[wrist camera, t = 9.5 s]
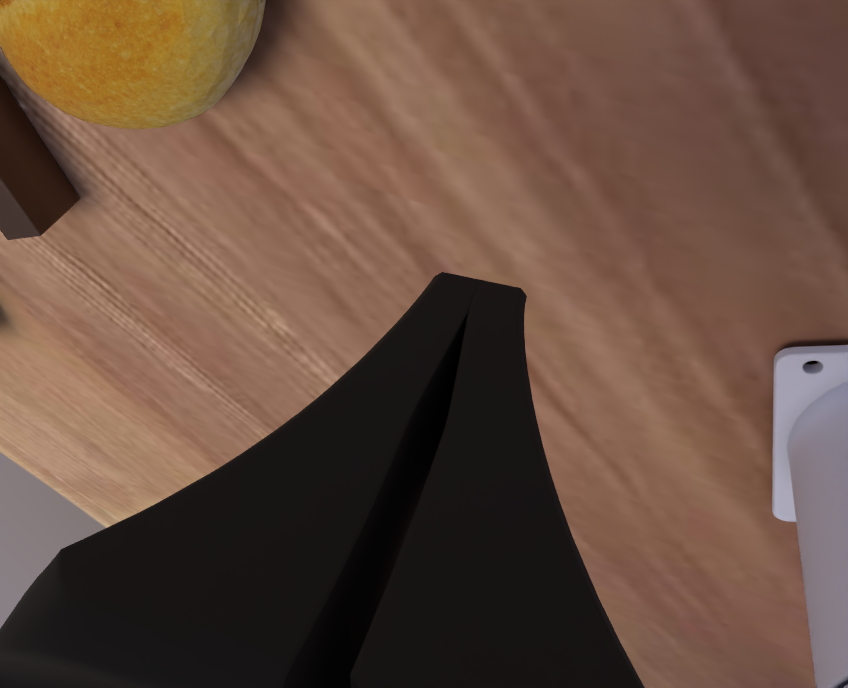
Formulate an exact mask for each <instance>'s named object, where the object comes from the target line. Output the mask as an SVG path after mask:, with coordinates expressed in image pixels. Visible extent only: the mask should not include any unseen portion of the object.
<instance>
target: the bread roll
mask: <svg viewBox="0 0 848 688" xmlns="http://www.w3.org/2000/svg"><path fill="white" fill-rule="evenodd" d="M265 1H266V0H0V46H1V48H2V50H3V52H4V54H5V56H6V58H7V59H8V61H9V62H10V64H11V66H12V67H13V68H14V70H15V71H16V73H17V74H18V75H19V76H20V78H21V79H22V80H23V81H24V82H25V83H26V85H27V86H28V87H29V88H30V89H31V90H33V91H34V92H35V93H36V94H38V95H39V96H41V97H42V98H44V99H45V100H46V101H48V102H49V103H51V104H52V105H54V106H55V107H57V108H58V109H60V110H61V111H63V112H65V113H67V114H70V115H72V116H74V117H76V118H79V119H81V120H84V121H87V122H91V123H96V124H100V125H105V126H111V127H118V128H128V129H144V128H158V127H165V126H170V125H174V124H179V123H182V122H185V121H187V120H189V119H191V118H193V117H196V116H198V115H200V114H202V113H203V112H205V111H206V110H208V109H210V108H211V107H212V106H214V105H215V104H216V103H217V102H218V101H219V100H220V99H221V98H222V96H223V95H224V94H225V93H226V92H227V90H228V88H229V87H230V86H231V85H232V84H233V83H234V81H235V79H236V78H237V76H238V75H239V73H240V72H241V70H242V69H243V66H244V64H245V62H246V61H247V59H248V57H249V56H250V54H251V52H252V50H253V47H254V45H255V42H256V40H257V37H258V35H259V32H260V28H261V24H262V19H263V14H264V8H265Z"/></svg>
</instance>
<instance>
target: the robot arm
mask: <svg viewBox="0 0 848 688" xmlns="http://www.w3.org/2000/svg"><path fill="white" fill-rule="evenodd" d="M526 297H527V296H526V294H525V293H524V292H523V290H522V289H521V288H517V287H512V286H507V285H503V284H498V283H493V282H488V281H483V280H478V279H474V278H469V277H464V276H459V275H454V274H449V273H444V272H442V273H440V274H438V275H436V276H435V277H434V278H433V280H432V281H431V282H430V284H429V285H428V286H427V288H426V289H425V290H424V291H423V293H422V294H421V295H420V296H419V298H418V299H417V300H416V301H415V302H414V304H413V305H412V306H411V307H410V308H409V310H408V311H407V312H406V313H405V314H404V315H403V316H402V317H401V318H400V320H399V321H398V322H397V323H396V324H395V325H394V326H393V327H392V328H391V329H390V330H389V331H388V332H387V333H386V334H385V335H384V336H383V338H382V339H381V340H380V341H379V342H378V343H377V344H376V345H375V346H374V347H373V348H372V349H371V350H370V351H369V352H368V353H367V354H366V355H365V356H364V357H363V358H362V359H361V360H360V361H359V362H357V363H356V364H355V365H354V366H353V367H352V368H351V369H350V370H349V371H347V372H346V373H345V374H344V375H343V376H342V377H341V378H340V379H339V380H338V381H336V382H335V383H334V384H333V385H332V386H331V387H330V388H329V389H328V390H326V391H325V392H324V393H323V394H322V395H320V396H319V397H318V398H317V399H316V400H314V401H313V402H312V403H311V404H309V405H308V406H307V407H306V408H304V409H303V410H302V411H301V412H299V413H298V414H297V415H295V416H294V417H293V418H291V419H290V420H289V421H287V422H286V423H285V424H283V425H282V426H281V427H279V428H278V429H277V430H275V431H274V432H273V433H271V434H270V435H268V436H267V437H265V438H264V439H262V440H261V441H259V442H258V443H256V444H255V445H253V446H252V447H251V448H249V449H248V450H246V451H245V452H243V453H242V454H240V455H239V456H237V457H236V458H234V459H232V460H231V461H229V462H228V463H226V464H225V465H223V466H221V467H220V468H218V469H217V470H215V471H213V472H211V473H210V474H208V475H206V476H204V477H203V478H201V479H199V480H197V481H196V482H194V483H192V484H190V485H189V486H187V487H185V488H183V489H181V490H180V491H178V492H176V493H174V494H173V495H171V496H169V497H167V498H166V499H164V500H162V501H160V502H159V503H157V504H155V505H153V506H151V507H149V508H147V509H145V510H143V511H141V512H139V513H137V514H135V515H133V516H131V517H129V518H127V519H125V520H122V521H120V522H118V523H116V524H114V525H112V526H110V527H108V528H106V529H104V530H101V531H100V532H97V533H95V534H93V535H91V536H89V537H87V538H85V539H83V540H80V541H78V542H76V543H74V544H72V545H69V546H67V547H65V548H63V549H61V550H60V552H59V553H58V554H57V555H56V557H55V558H54V559H53V560H52V561H51V563H50V564H49V565H48V566H47V567H46V568H45V570H44V571H43V572H42V573H41V574H40V575H39V576H38V577H37V579H36V580H35V581H34V582H33V584H32V585H31V586H30V587H29V589H28V590H27V591H26V593H25V594H24V595H23V597H22V598H21V600H20V601H19V603H18V604H17V606H16V607H15V609H14V610H13V611H12V613H11V614H10V616H9V617H8V619H7V620H6V621H5V623H4V624H3V626H2V627H1V629H0V688H645V687H644V686H643V684H642V682H641V680H640V678H639V677H638V675H637V673H636V671H635V669H634V667H633V665H632V664H631V662H630V660H629V658H628V656H627V654H626V652H625V650H624V648H623V647H622V645H621V643H620V641H619V639H618V637H617V635H616V633H615V631H614V629H613V627H612V624H611V622H610V620H609V618H608V616H607V614H606V612H605V610H604V608H603V606H602V604H601V602H600V600H599V598H598V595H597V593H596V591H595V588H594V586H593V584H592V581H591V579H590V577H589V574H588V572H587V570H586V567H585V565H584V563H583V560H582V558H581V556H580V553H579V551H578V549H577V546H576V544H575V542H574V539H573V537H572V534H571V532H570V529H569V526H568V523H567V521H566V518H565V515H564V512H563V510H562V507H561V504H560V501H559V498H558V495H557V492H556V489H555V486H554V483H553V480H552V477H551V473H550V470H549V466H548V463H547V459H546V456H545V452H544V448H543V445H542V441H541V436H540V432H539V428H538V424H537V420H536V415H535V410H534V405H533V400H532V394H531V388H530V382H529V376H528V370H527V362H526V353H525V339H524V310H525V302H526ZM808 361H819V362H818V363H816V364H811V365H810V364H805V363H807V362H808ZM772 511H773V514H774V516H775V517H777V518H778V519H781V520H783V521H795V522H796V523H797V532H798V540H799V548H800V557H801V565H802V573H803V582H804V590H805V598H806V607H807V615H808V624H809V632H810V640H811V649H812V657H813V666H814V674H815V682H816V688H848V345H835V346H808V347H790V348H785V349H783V350H781V351H779V352H778V353H777V354H776V355H775V357H774V367H773V455H772Z"/></svg>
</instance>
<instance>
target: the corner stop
mask: <svg viewBox="0 0 848 688" xmlns="http://www.w3.org/2000/svg"><path fill="white" fill-rule="evenodd" d="M78 201H79V197H78V196H77V194H76V192H75V191H74V189H73V188H72V186H71V185H70V183H69V182H68V180H67V179H66V177H65V176H64V174H63V172H62V171H61V169H60V168H59V166H58V165H57V163H56V162H55V160H54V159H53V157H52V156H51V154H50V152H49V151H48V149H47V148H46V146H45V145H44V143H43V142H42V140H41V139H40V137H39V136H38V134H37V132H36V131H35V129H34V128H33V126H32V125H31V123H30V122H29V120H28V119H27V117H26V116H25V114H24V112H23V111H22V109H21V108H20V106H19V105H18V103H17V102H16V100H15V99H14V97H13V96H12V94H11V92H10V91H9V89H8V88H7V86H6V85H5V83H4V82H3V80H2V79H1V77H0V230H1V232H2V233H3V235H4V236H5V237H6V239H8V240H12V239H20V238H27V237H35V236H41V235H42V234H43V233H44V232H45V231H46V230H48V229H49V228H50V227H51V226H52V225H53V224H54V223H55V222H56V221H57V220H58V219H59V218H60V217H62V216H63V215H64V214H65V213H66V212H67V211H68V210H69V209H70V208H71V207H72V206H73V205H74V204H75V203H77V202H78Z"/></svg>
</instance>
